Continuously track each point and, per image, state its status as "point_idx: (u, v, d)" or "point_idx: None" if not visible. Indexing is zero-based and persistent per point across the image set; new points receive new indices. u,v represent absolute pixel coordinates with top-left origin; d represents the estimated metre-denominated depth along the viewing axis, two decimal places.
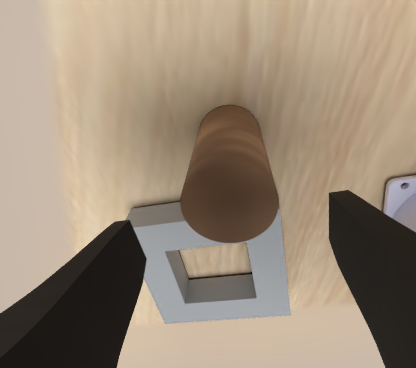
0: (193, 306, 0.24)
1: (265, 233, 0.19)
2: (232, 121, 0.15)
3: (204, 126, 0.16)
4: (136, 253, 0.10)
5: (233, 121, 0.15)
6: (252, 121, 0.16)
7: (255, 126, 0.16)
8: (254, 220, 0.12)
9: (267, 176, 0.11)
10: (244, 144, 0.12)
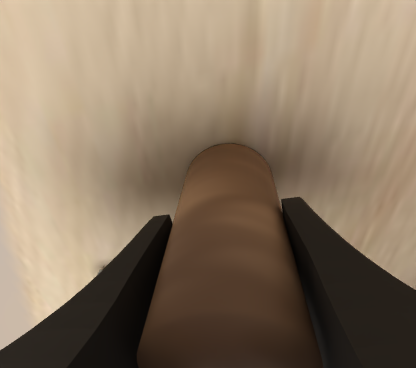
0: None
1: None
2: (233, 180, 0.09)
3: (191, 181, 0.10)
4: None
5: (234, 179, 0.09)
6: (263, 172, 0.11)
7: (268, 182, 0.10)
8: None
9: (303, 332, 0.05)
10: (255, 241, 0.07)
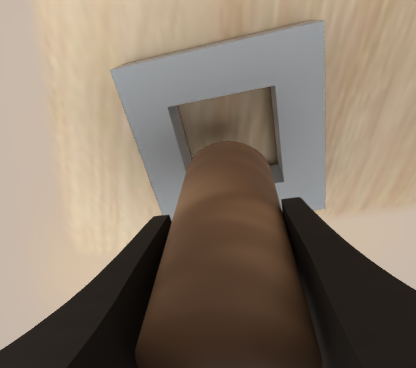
0: None
1: (301, 67, 0.14)
2: (234, 178, 0.09)
3: (191, 178, 0.10)
4: None
5: (236, 177, 0.09)
6: (264, 171, 0.11)
7: (269, 181, 0.10)
8: None
9: (305, 330, 0.05)
10: (258, 238, 0.07)
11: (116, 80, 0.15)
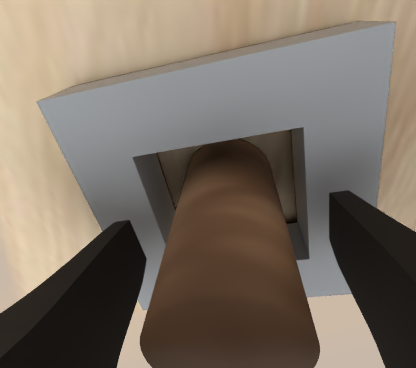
0: None
1: (348, 99, 0.09)
2: (235, 173, 0.09)
3: (193, 174, 0.11)
4: (136, 253, 0.10)
5: (236, 172, 0.09)
6: (264, 167, 0.11)
7: (268, 177, 0.11)
8: None
9: (303, 316, 0.06)
10: (257, 231, 0.07)
11: (48, 117, 0.10)
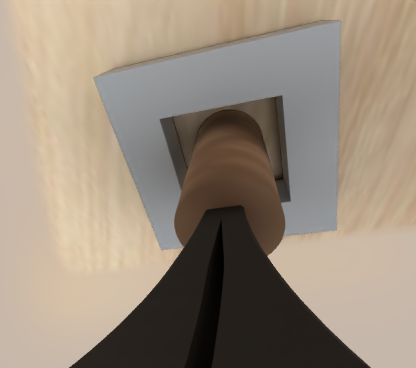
0: None
1: (313, 74, 0.12)
2: (234, 129, 0.13)
3: (203, 132, 0.14)
4: None
5: (235, 128, 0.13)
6: (255, 129, 0.15)
7: (258, 135, 0.14)
8: None
9: (274, 196, 0.09)
10: (248, 156, 0.11)
11: (100, 89, 0.13)
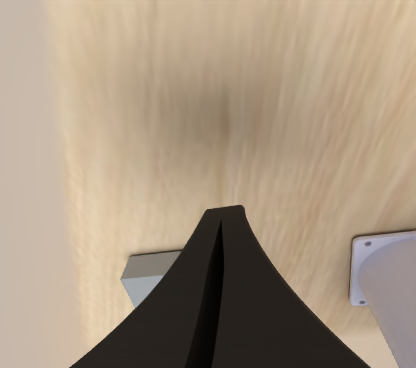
0: None
1: None
2: None
3: None
4: None
5: None
6: None
7: None
8: None
9: None
10: None
11: (124, 284, 0.23)
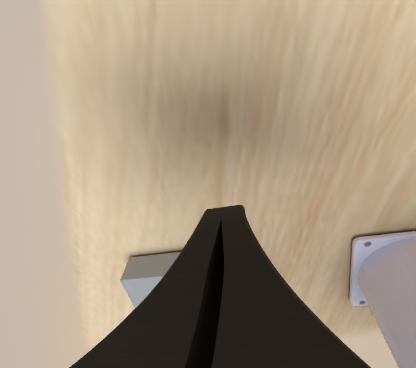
0: None
1: None
2: None
3: None
4: None
5: None
6: None
7: None
8: None
9: None
10: None
11: (124, 284, 0.23)
